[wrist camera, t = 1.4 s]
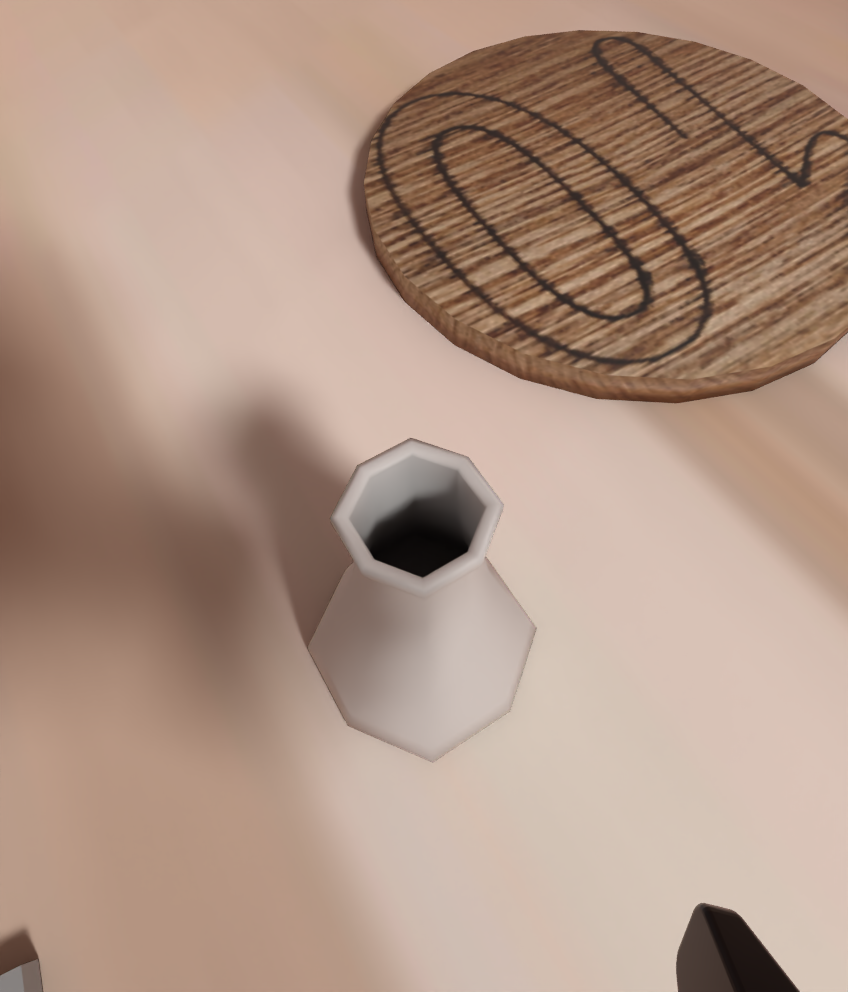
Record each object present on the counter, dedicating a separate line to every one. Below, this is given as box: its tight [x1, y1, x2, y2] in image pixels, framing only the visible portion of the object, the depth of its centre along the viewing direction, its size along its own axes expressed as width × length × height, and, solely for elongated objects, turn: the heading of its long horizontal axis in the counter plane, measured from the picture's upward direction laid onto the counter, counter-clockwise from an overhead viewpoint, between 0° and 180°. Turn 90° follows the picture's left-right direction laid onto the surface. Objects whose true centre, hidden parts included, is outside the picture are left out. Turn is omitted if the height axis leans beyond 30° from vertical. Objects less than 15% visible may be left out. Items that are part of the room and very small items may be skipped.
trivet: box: [364, 30, 848, 403], centre depth 30 cm, size 25×25×2 cm
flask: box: [307, 438, 537, 762], centre depth 16 cm, size 7×7×10 cm
